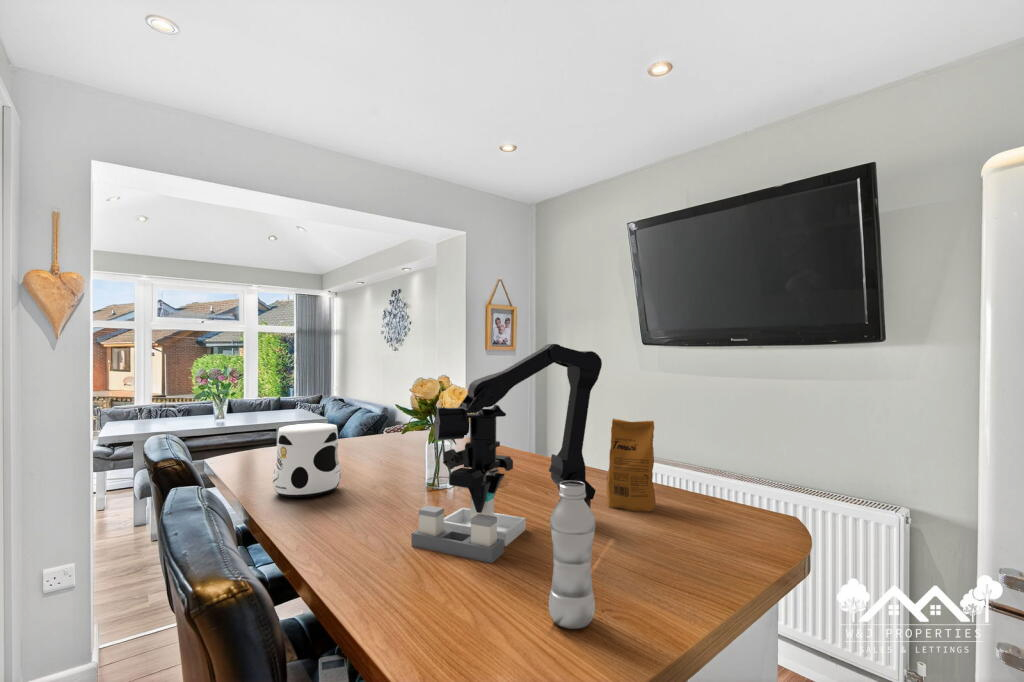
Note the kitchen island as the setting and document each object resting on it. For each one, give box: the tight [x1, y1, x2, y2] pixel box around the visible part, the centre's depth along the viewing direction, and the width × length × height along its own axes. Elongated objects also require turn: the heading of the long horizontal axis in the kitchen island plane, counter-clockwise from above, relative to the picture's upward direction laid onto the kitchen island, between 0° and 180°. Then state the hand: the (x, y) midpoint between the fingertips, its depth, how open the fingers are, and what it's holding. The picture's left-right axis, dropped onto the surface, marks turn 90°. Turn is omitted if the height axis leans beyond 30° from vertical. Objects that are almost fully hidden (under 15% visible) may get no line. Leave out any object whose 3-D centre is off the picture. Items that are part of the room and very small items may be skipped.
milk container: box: [272, 422, 342, 498], centre depth 133 cm, size 17×17×18 cm
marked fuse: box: [470, 492, 495, 518], centre depth 104 cm, size 4×3×7 cm
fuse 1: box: [418, 504, 445, 536], centre depth 97 cm, size 4×3×7 cm
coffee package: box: [606, 417, 657, 512], centre depth 124 cm, size 10×12×22 cm
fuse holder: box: [411, 528, 505, 564], centre depth 94 cm, size 18×5×3 cm, turn 65°
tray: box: [444, 507, 527, 547], centre depth 104 cm, size 16×10×3 cm, turn 65°
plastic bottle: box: [548, 481, 596, 630], centre depth 70 cm, size 6×7×20 cm
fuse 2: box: [471, 514, 497, 547], centre depth 92 cm, size 4×3×7 cm
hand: (482, 510), depth 104 cm, fingers closed on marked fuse, 3 cm apart
